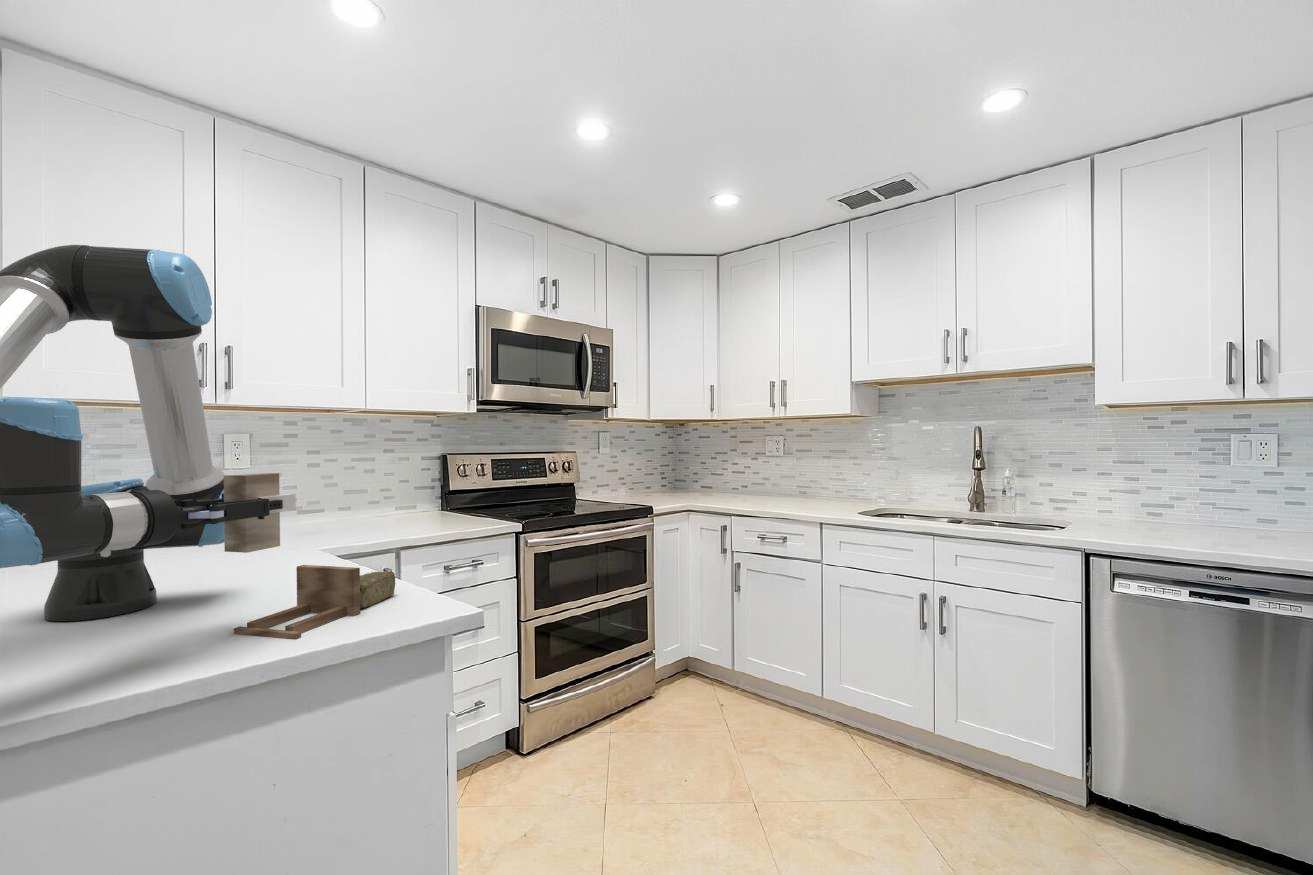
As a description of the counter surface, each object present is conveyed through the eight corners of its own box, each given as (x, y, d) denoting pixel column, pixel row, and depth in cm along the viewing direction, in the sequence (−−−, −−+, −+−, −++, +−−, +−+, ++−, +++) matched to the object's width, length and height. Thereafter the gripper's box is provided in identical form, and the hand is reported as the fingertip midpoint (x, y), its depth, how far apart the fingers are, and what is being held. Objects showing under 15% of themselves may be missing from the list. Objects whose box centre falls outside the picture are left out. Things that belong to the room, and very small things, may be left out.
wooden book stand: (233, 633, 97) (233, 582, 97) (303, 609, 111) (303, 564, 111) (295, 639, 94) (295, 586, 94) (360, 613, 108) (359, 567, 108)
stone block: (397, 595, 120) (397, 570, 120) (360, 613, 109) (360, 585, 109) (370, 594, 121) (370, 569, 121) (330, 611, 110) (330, 584, 110)
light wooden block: (224, 551, 97) (223, 475, 97) (258, 544, 103) (258, 473, 103) (246, 552, 96) (245, 475, 96) (280, 546, 101) (279, 473, 101)
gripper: (84, 545, 85) (242, 522, 107) (178, 550, 80) (323, 525, 102) (83, 490, 84) (241, 478, 107) (178, 492, 80) (323, 479, 102)
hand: (281, 501), depth 104 cm, fingers closed on light wooden block, 4 cm apart
